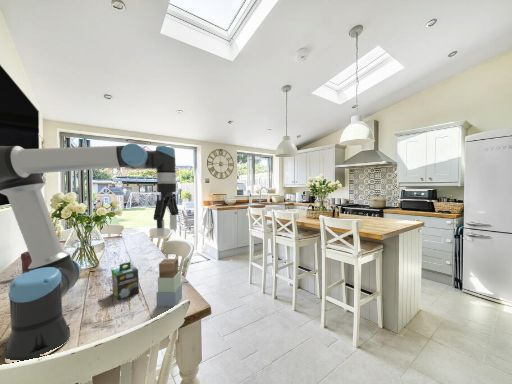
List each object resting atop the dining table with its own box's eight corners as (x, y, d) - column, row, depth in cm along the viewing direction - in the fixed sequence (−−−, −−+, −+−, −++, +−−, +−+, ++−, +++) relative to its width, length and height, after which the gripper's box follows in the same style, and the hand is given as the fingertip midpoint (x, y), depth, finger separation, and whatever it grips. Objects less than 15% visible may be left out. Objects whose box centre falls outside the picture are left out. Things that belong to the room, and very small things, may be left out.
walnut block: (173, 277, 95) (173, 263, 95) (159, 277, 95) (158, 263, 95) (178, 272, 101) (178, 258, 101) (165, 272, 101) (164, 258, 101)
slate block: (175, 306, 95) (175, 292, 95) (156, 306, 95) (156, 292, 95) (182, 297, 103) (181, 284, 103) (164, 297, 103) (164, 284, 103)
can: (20, 277, 127) (18, 253, 127) (35, 273, 133) (33, 250, 132) (24, 279, 124) (23, 254, 124) (39, 275, 130) (38, 251, 129)
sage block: (174, 292, 95) (174, 278, 95) (158, 292, 95) (157, 278, 95) (180, 284, 102) (180, 271, 102) (165, 284, 102) (164, 271, 102)
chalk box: (133, 287, 113) (132, 257, 113) (139, 293, 107) (138, 262, 106) (111, 293, 107) (110, 262, 106) (117, 300, 100) (116, 267, 100)
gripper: (162, 182, 84) (164, 239, 85) (184, 183, 109) (185, 226, 110) (142, 182, 84) (144, 239, 85) (169, 183, 109) (170, 227, 110)
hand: (167, 232), depth 98 cm, fingers open, 13 cm apart
